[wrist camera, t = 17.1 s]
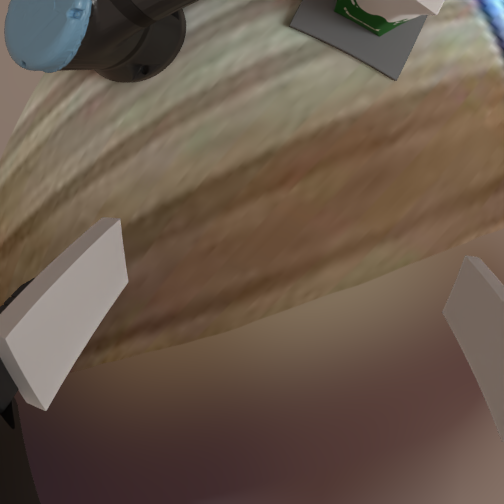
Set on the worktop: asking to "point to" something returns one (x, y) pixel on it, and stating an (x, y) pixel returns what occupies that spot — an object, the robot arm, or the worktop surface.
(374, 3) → the soya milk
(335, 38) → the charcoal mat
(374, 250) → the worktop surface
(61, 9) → the robot arm
